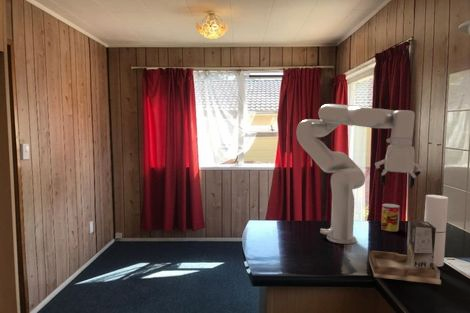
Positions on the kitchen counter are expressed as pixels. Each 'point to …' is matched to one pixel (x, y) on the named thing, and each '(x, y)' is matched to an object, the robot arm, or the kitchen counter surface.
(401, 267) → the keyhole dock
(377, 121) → the robot arm
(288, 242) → the kitchen counter surface
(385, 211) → the canned food
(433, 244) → the coffee box
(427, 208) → the cylindrical container
